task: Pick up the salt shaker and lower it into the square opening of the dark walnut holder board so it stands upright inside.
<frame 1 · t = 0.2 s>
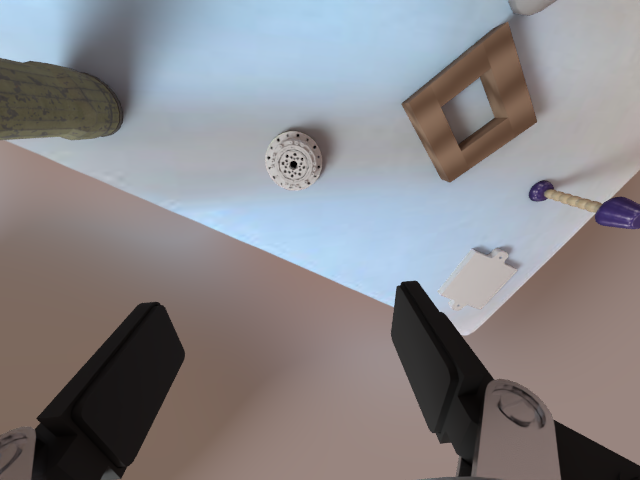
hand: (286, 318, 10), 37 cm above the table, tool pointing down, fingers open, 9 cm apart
toy lamp: (537, 189, 48), on the table
mechanical component: (294, 161, 43), on the table
holder board: (463, 113, 41), on the table
mounting plate: (472, 277, 58), on the table
green textured column: (92, 106, 37), on the table
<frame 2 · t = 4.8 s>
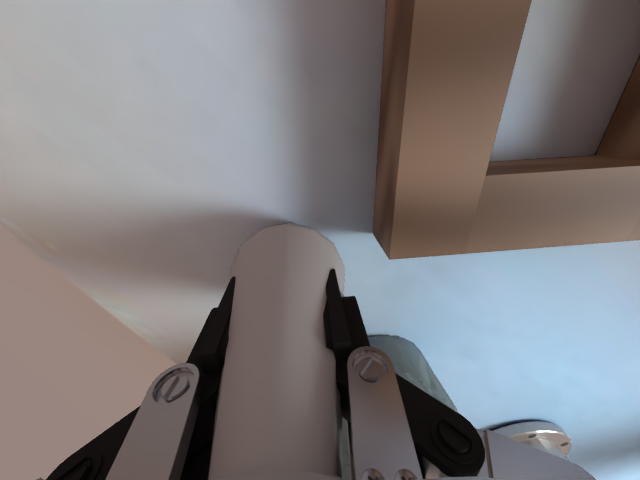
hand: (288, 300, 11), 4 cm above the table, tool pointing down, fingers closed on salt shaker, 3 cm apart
green embossed cup: (375, 368, 20), on the table
holder board: (552, 65, 11), on the table
salt shaker: (291, 252, 15), on the table, touching gripper
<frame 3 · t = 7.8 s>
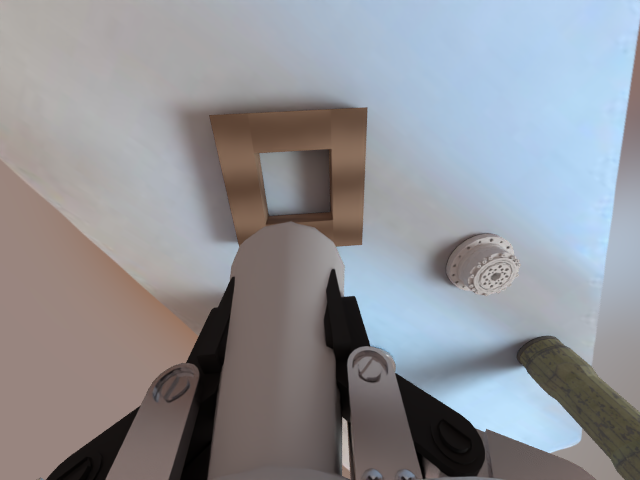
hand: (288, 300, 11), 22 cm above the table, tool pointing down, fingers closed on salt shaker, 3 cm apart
mechanical component: (474, 259, 38), on the table
holder board: (296, 183, 30), on the table
salt shaker: (291, 251, 15), point 18 cm above the table, touching gripper
green textured column: (537, 349, 50), on the table
when the fingers open (6 cm above the table, at t = 11.1 s): salt shaker drops 1 cm, resting in holder board.
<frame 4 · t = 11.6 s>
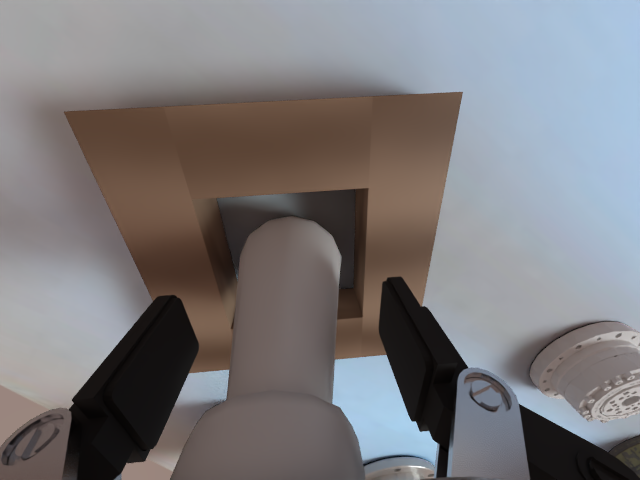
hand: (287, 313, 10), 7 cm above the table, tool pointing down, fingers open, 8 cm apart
mechanical component: (574, 353, 24), on the table
holder board: (292, 243, 16), on the table
salt shaker: (293, 244, 16), resting in holder board
green textured column: (636, 446, 35), on the table
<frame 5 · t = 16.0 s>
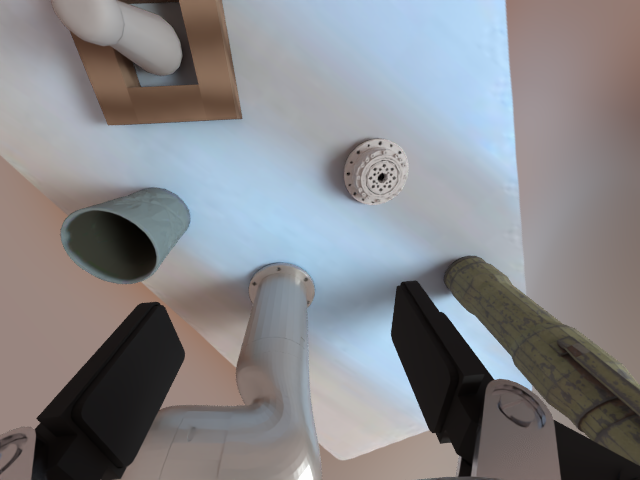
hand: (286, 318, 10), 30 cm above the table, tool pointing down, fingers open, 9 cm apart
green embossed cup: (165, 213, 38), on the table
mechanical component: (373, 172, 38), on the table
holder board: (163, 48, 29), on the table
salt shaker: (165, 51, 29), resting in holder board
green textured column: (464, 273, 48), on the table
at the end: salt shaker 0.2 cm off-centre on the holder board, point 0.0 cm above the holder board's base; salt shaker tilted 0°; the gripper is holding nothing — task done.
